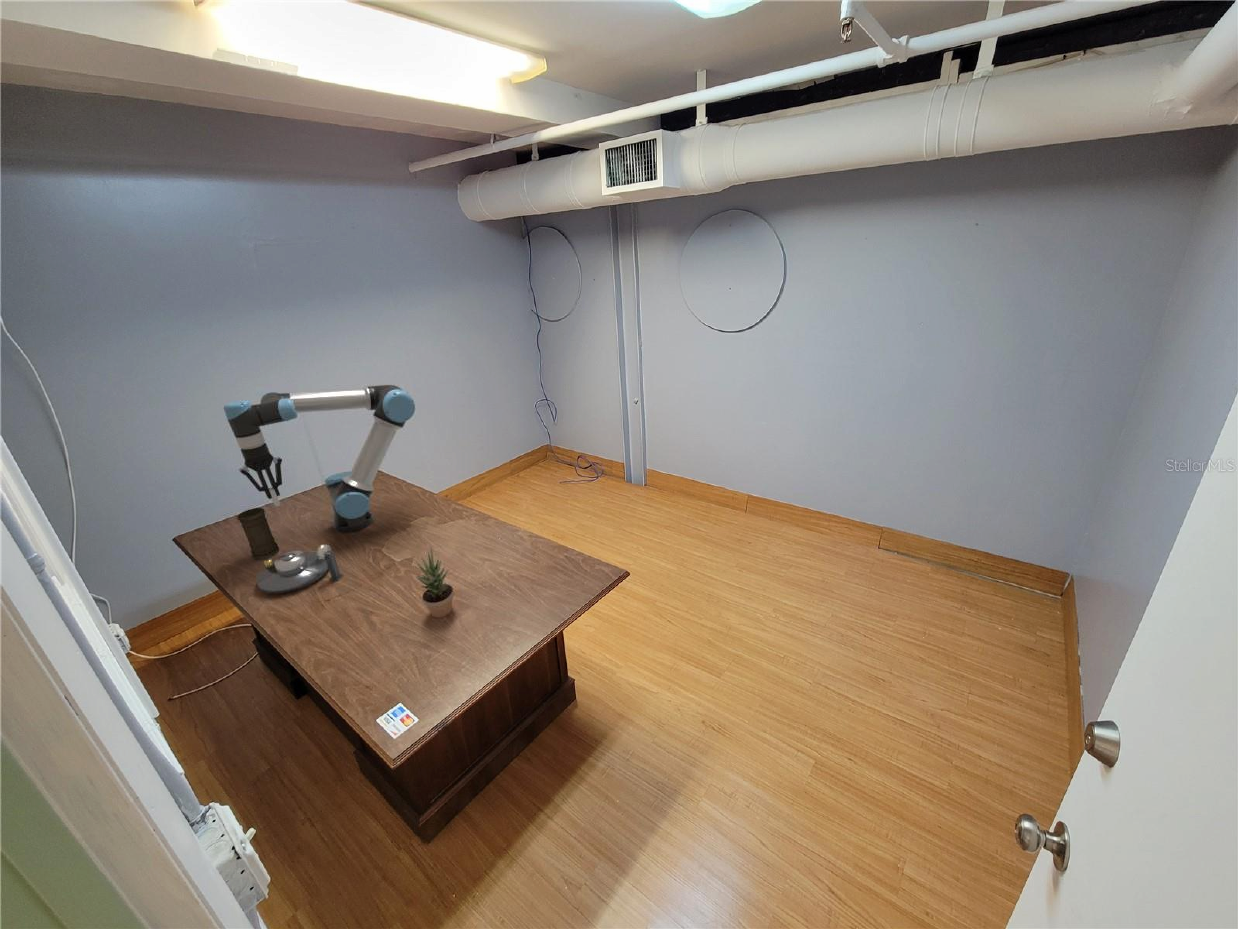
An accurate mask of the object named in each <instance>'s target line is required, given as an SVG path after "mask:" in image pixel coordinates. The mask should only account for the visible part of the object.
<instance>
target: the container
mask: <svg viewBox="0 0 1238 929" xmlns="http://www.w3.org/2000/svg"><path fill="white" fill-rule="evenodd" d="M237 520H239V523H241V527H242V529H243V531H244V534H245V536H246V538H247V541H248V544H249V547H250V550H251V551H250V552H251V556H252V558H253V559H254V560H266V559H270V558H271V557H273V556H275V555H276V554H277V553H278V552H279V551H280V546H279V545H278V543H277V542H276V541H275V537H274V536H273V533H272V531H271V528H270V525H269V523H268V521H267V520H268V519H267V518H266V511H265V509H264V508H261V507H255V508H250V509H247V510H244V511H242V512H240V513H239V514H238V515H237Z"/></svg>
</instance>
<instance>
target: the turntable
mask: <svg viewBox="0 0 1238 929" xmlns="http://www.w3.org/2000/svg"><path fill="white" fill-rule="evenodd" d="M303 553H304V556H305V559H306V562H307V565H308V567H307V569H306V570H305V571H303V572H302V573H300V574H298V575H295V576H292V577H286V578H284V577H280V576H279V575H278V572H277V570H276V567H275V564H274V561H273V559H272V558H266V559H264V560H263V564H264V566H265V568H264V569H263V570H262V571H261V572H260V573H259V574H258V576H257V578H256V584H257V586H258V589H259V590H260V591H261V592H262V593H266V594H273V595H274V594H284V593H289V592H294V591H297V590H299V589H302V588H305V587H307V586H309V585H311V584H312V583H315V582H317V580H319V579H320V578H322V577H323V576H324V575H325V574H326V573H327V572H328V571H329V568H328V565H327V562H326V559H319V558H318V557H317V551H307V552H306V551H305V552H303Z"/></svg>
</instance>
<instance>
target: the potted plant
mask: <svg viewBox="0 0 1238 929" xmlns="http://www.w3.org/2000/svg"><path fill="white" fill-rule="evenodd" d="M429 547H430V552H429V551H427V556H428V557H427V558H428V562H426V560H425V559H424V558H423V557H421V560H422V562H423V565H424V567H423V566H421V565H420V564H419V562H416V564H417V567H418V568H419V569H420V571H421V572H422V573H423V575H422V576H420V575H418V574H417V575H415V579H418V581H419V582H420V583H422V584H423V585H420V587H421V588H423V589H425V590H424V591H423V592H422V593H421V601H422V603H423V605H425V606H426V608H428V611H429V612H430V614H431V615H432V617H434V618H443V617H446V616H448V615H449V614H450V613H451V612H452V609H453V598H454V596H455V590H454V587H453V586H452V585H451V584H448V583H447V582H445V581H444V580H445V578H446V576H447V574H448V572H449V569H448V570H446V572H445V573H444V571H445V568H446V567H445V566H443V568H442V570H441V571H440V569H441V565H442V560H439V559H437V561H436V564H435V560H434V553H433V549H432V546H431V544H429ZM424 585H425V586H424Z"/></svg>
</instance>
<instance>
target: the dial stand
mask: <svg viewBox="0 0 1238 929" xmlns="http://www.w3.org/2000/svg"><path fill="white" fill-rule="evenodd" d="M316 552H317V557H318V558H319V559H326V562H327V565H328V568H329V569H328V571H329V574H330V578H329V581H333V582H334V581H335V582H338V581H340V580H341V579H342V577H344V574H343V573H340V569H339V566H338V562H337V560H336V557H335V553H334V551H333V550H332V548H331V546H330V545H329V544H320V545H319V546H318V547H317V550H316Z"/></svg>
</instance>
